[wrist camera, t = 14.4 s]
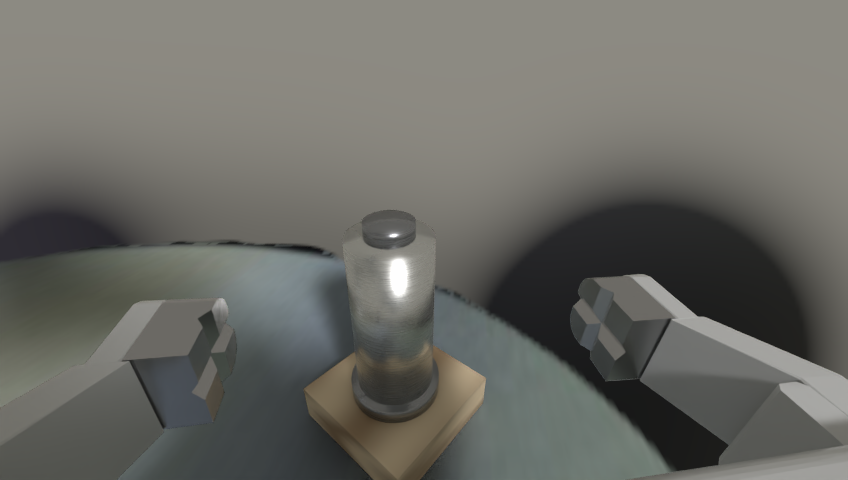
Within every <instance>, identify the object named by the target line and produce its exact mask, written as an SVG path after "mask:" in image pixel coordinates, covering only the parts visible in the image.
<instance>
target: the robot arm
mask: <svg viewBox="0 0 848 480" xmlns="http://www.w3.org/2000/svg"><path fill="white" fill-rule="evenodd" d="M578 293H579V295H580V297H581V299H580V300H579V301H578V302H577V303H576V304H575V305H574V306H573V309H572V312H571V316H570V320H571V328H572V331H573V334H574V336H575V338H576V339H577V341H578V342H579V343H580V344H581V345H583V346H584V347H586V348H587V349H589V350H591V352H590V359H591V361H592V362H593V363H594V365H595V366H596V368H597V369H598V370H599V372H600V373H601V375H602V376H603V377H604V379H605V380H606V381H614V380H627V379H640V378H641V379H640V381H641V382H643V383H644V384H645V385H647V386H648V387H650V388H651V389H652V390H654V391H655V392H657V393H658V394H659V395H661V396H662V397H663V398H665V399H666V400H668V401H669V402H671V403H672V404H673V405H675V406H676V407H677V408H679V409H680V410H682V411H683V412H684V413H686V414H687V415H689V416H690V417H691V418H693V419H694V420H695V421H697V422H698V423H699V424H701V425H702V426H704V427H705V428H706V429H708V430H709V431H711V432H712V433H713V434H715V435H716V436H718V437H719V438H720V439H722V440H723V441H724V442H726V443H727V444H729V446H728V447H727V449H726V450H725V451H724V452H723V454H722V455H721V456H720V457H719V465H717V466H710V467H704V468H698V469H691V470H684V471H678V472H672V473H665V474H659V475H653V476H646V477H640V478H634V479H627V480H848V380H847V379H845V378H844V377H843V376H841V375H839V374H837V373H834V372H832V371H830V370H827V369H825V368H823V367H820V366H818V365H816V364H813V363H811V362H809V361H806V360H804V359H802V358H799V357H797V356H795V355H792V354H790V353H788V352H785V351H783V350H781V349H778V348H776V347H774V346H771V345H769V344H767V343H764V342H762V341H760V340H757V339H755V338H753V337H750V336H748V335H746V334H743V333H741V332H739V331H736V330H734V329H732V328H729V327H727V326H724V325H722V324H720V323H718V322H715V321H713V320H711V319H708V318H706V317H697V316H696V315H695V314H693V312H691V311H690V310H689V309H688V308H687V307H685V306H684V305H683V304H682V303H681V302H680V301H678V300H677V299H676V298H675V297H674V296H672V295H671V294H670V293H669V292H667V291H666V290H665V289H664V288H663V287H662V286H660V285H659V284H658V283H657V282H656V281H655V280H653V279H652V278H651V277H649V276H646V275H644V274H638V275H625V276H620V277H603V278H586V279H585V280H584V281H583V282H582V283H581V285H580V288H579V291H578ZM228 315H229V310H228V307H227V304H226V301H225V300H223V299H222V298H198V299H169V300H150V301H140V302H137V303H135V304H133V305H132V307H131V308H130V309H129V310H128V311H127V313H126V314H125V315H124V316H123V318H122V319H121V320H120V321H119V322H118V324H117V325H116V326H115V327H114V329H113V330H112V331H111V332H110V334H109V335H108V336H107V337H106V338H105V340H104V341H103V342H102V343H101V345H100V346H99V347H98V348H97V349H96V351H95V352H94V353H93V354H92V356H91V357H90V358H89V359H88V361H87V362H86V363H85V364H84V365H74V366H72V367H70V368H69V369H67V370H65V371H63V372H62V373H60V374H58V375H57V376H55V377H53V378H51V379H50V380H48V381H46V382H44V383H43V384H41V385H39V386H37V387H36V388H34V389H32V390H30V391H29V392H27V393H25V394H24V395H22V396H20V397H18V398H17V399H15V400H13V401H11V402H10V403H8V404H6V405H4V406H3V407H1V408H0V480H117V479H118V478H119V477H120V476H121V475H122V474H123V473H124V472H125V471H126V470H127V469H128V468H129V467H130V466H131V465H132V464H133V463H134V462H135V461H136V460H137V459H138V458H139V457H140V456H141V455H142V454H143V453H144V452H145V451H146V450H147V449H148V448H149V447H150V446H151V445H152V444H153V443H154V442H155V441H156V440H157V439H158V438H159V437H160V436H161V435H162V434H163V433H164V430H163V429H170V428H177V427H185V426H192V425H200V424H207V423H214V420H215V417H216V414H217V412H218V409H219V406H220V404H221V401H222V398H223V395H224V393H225V392H224V389H223V386H222V383H221V382H222V381H224V380H225V379H226V378H227V377H228V376H229V375H231V373H232V370H233V367H234V364H235V360H236V352H237V343H236V336H235V332H234V329H233V328H232V327H230V326H229V325H228V324H226V323H225V322H226V320H227V317H228Z"/></svg>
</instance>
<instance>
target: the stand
mask: <svg viewBox="0 0 848 480" xmlns="http://www.w3.org/2000/svg"><path fill="white" fill-rule="evenodd" d="M433 358H434V359H435V361H436V363H437V366H438V370H439V385H438V393H437V396H436V399H435V400H434V402H433V404H432V405H431V407H430V408H429V409H428V410H427V411H426V412H424V413H423V414H422V415H420V416H418V417H417V418H414V419H412V420H409V421H406V422H401V423H385V422H380V421H377V420H374V419H372V418H370V417H369V416H367V415H366V414H364V413H363V412H362V411H361V410H360V408H359V407H358V406H357V404H356V402H355V399H354V396H353V390H352V380H351V377H352V371H353V368H354V366H355V364H356V356H355V352H353V353H352V354H351V355H349V356H348V357H347V358H345V359H344V360H342V361H341V362H340V363H338V364H337V365H336V366H334V367H333V368H331V369H330V370H329V371H327V372H326V373H325V374H323V375H322V376H320V377H319V378H318V379H316V380H315V381H314V382H312V383H311V384H309V385H308V386H307V387H305V388H304V394H305V398H306V402H307V407H308V411H309V415H310V416H311V417H312V418H313V419H314V420H315V421H316V422H317V423H318V424H319V425H320V426H321V427H322V428H323V429H324V430H325V431H326V432H327V433H328V434H329V435H330V436H331V437H332V438H333V439H334V440H335V441H336V442H337V443H338V444H339V445H340V446H341V447H342V448H343V449H344V450H345V451H346V452H347V453H348V454H349V455H350V456H351V457H352V458H353V459H354V460H355V461H356V462H357V463H358V464H359V465H360V467H361V468H362V469H363V470H364V471H365V472H366V473H367V474H368V475H369V476H370V477H371V478H372V479H373V480H420V479H421V478H422V477H423V475H424V474H425V473H426V472H427V471H428V469H429V468H430V467H431V466H432V464H433V463H434V462H435V461H436V460H437V458H438V457H439V456H440V455H441V453H442V452H443V451H444V450H445V449H446V447H447V446H448V445H449V444H450V442H451V441H452V440H453V439H454V438H455V436H456V435H457V434H458V433H459V431H460V430H461V429H462V428H463V427H464V425H465V424H466V423H467V422H468V421H469V419H470V418H471V417H472V416H473V414H474V413H475V412H476V411H477V410H478V408H479V407H480V406H481V405H482V403H483V397H484V389H485V381H486V378H485V377H483V376H482V375H480V374H479V373H477V372H475V371H474V370H472V369H471V368H469V367H467V366H466V365H464V364H462V363H461V362H459V361H458V360H456V359H454V358H453V357H451V356H450V355H448V354H446V353H445V352H443V351H442V350H440V349H438V348H437V347H435V346H434V345H433Z"/></svg>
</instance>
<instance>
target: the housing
mask: <svg viewBox="0 0 848 480" xmlns="http://www.w3.org/2000/svg"><path fill="white" fill-rule="evenodd" d="M342 242H343V243H342V244H343V252H344V261H345V269H346V278H347V287H348V295H349V304H350V313H351V321H352V330H353V339H354V347H355V356H356V364H355V366H354V368H353V371H352V377H351V380H352V390H353V396H354V399H355V402H356V404H357V406H358V407H359V408H360V410H361V411H362V412H363V413H364V414H366V415H367V416H369V417H370V418H372V419H374V420H377V421H380V422H385V423H401V422H406V421H409V420H412V419H414V418H417V417H418V416H420V415H422V414H423V413H424V412H426V411H427V410H428V409H429V408H430V407H431V405H432V404H433V402H434V400H435V399H436V396H437V393H438V385H439V370H438V366H437V363H436V361H435V359H434V358H433V327H434V289H435V247H436V245H435V244H436V235H435V232H434V231H433V229H432V228H431V227H430V226H429V225H427V224H425V223H423V222H421V221H418V220H416V219H415V218H414V217H413V216H412V215H411V214H409V213H406V212H402V211H397V210H384V211H379V212H374V213H372V214H369V215H367V216H366V217H364V218H363V220H362V222H360V223H357V224H355V225H354V226H352V227H351V228H349V229H348V230H347V231H346V232H345V233H344V235H343V238H342Z"/></svg>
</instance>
